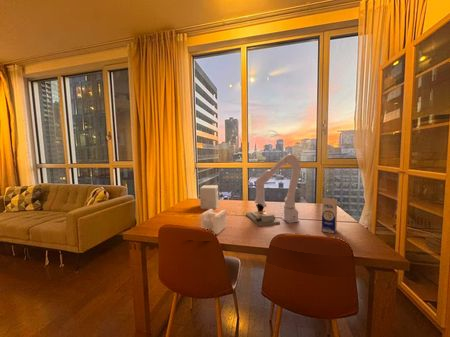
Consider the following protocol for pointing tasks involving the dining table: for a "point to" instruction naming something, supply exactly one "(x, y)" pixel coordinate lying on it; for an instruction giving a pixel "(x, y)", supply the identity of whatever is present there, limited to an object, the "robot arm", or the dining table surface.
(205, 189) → the supplement box
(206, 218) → the cable organizer
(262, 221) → the cutter base
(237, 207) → the dining table surface
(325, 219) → the milk carton
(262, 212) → the cutter blade
